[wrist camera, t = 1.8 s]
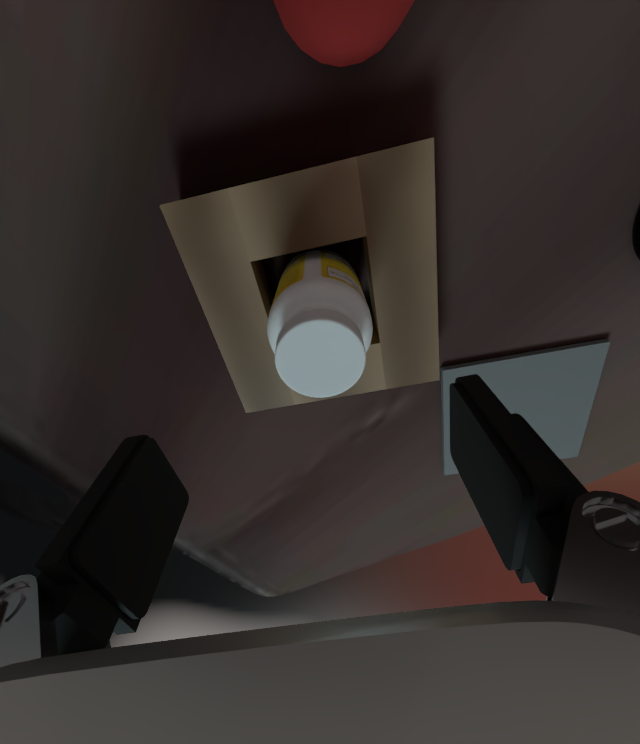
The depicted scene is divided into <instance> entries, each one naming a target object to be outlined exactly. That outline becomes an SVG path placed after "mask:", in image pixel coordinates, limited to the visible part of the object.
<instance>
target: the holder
mask: <svg viewBox="0 0 640 744" xmlns="http://www.w3.org/2000/svg"><path fill="white" fill-rule="evenodd" d="M160 208H161V210H162V213H163V215H164V217H165V220H166V222H167V225H168V227H169V229H170V232H171V234H172V237H173V239H174V241H175V244H176V246H177V249H178V251H179V253H180V256H181V258H182V261H183V263H184V265H185V268H186V270H187V272H188V275H189V277H190V280H191V282H192V284H193V287H194V289H195V292H196V294H197V296H198V299H199V301H200V304H201V306H202V308H203V311H204V313H205V316H206V318H207V320H208V323H209V325H210V328H211V330H212V332H213V335H214V337H215V339H216V342H217V344H218V347H219V349H220V351H221V354H222V356H223V359H224V361H225V363H226V366H227V368H228V371H229V373H230V375H231V378H232V380H233V383H234V385H235V387H236V390H237V392H238V395H239V397H240V399H241V402H242V404H243V407H244V409H245V411H246V413H249V412H255V411H261V410H267V409H273V408H278V407H284V406H290V405H296V404H302V403H308V402H314V401H320V400H325V399H331V398H337V397H343V396H349V395H355V394H361V393H366V392H372V391H378V390H384V389H390V388H396V387H402V386H408V385H413V384H419V383H425V382H431V381H437V380H439V338H438V293H437V249H436V205H435V161H434V137H433V138H429V139H425V140H421V141H417V142H413V143H409V144H405V145H401V146H397V147H393V148H388V149H384V150H380V151H376V152H372V153H368V154H364V155H360V156H356V157H352V158H348V159H344V160H340V161H336V162H332V163H328V164H324V165H320V166H316V167H312V168H308V169H304V170H300V171H296V172H292V173H288V174H284V175H280V176H276V177H272V178H267V179H263V180H259V181H255V182H251V183H247V184H243V185H239V186H235V187H231V188H227V189H223V190H219V191H215V192H211V193H207V194H203V195H199V196H195V197H191V198H187V199H183V200H179V201H175V202H171V203H167V204H163V205H160ZM361 237H362V242H363V249H364V257H365V264H366V272H367V279H368V286H369V294H370V301H371V309H372V316H373V325H372V326H373V332H372V339H371V343H370V346H369V348H368V350H367V352H366V363H365V367H364V370H363V373H362V375H361V377H360V378H359V379H358V381H357V382H356V383H355V384H354V385H353V386H352V387H351V388H349V389H348V390H346V391H344V392H343V393H341V394H338V395H335V396H331V397H324V398H316V397H309V396H305V395H302V394H300V393H298V392H296V391H294V390H293V389H291V388H290V387H288V386H287V385H286V384H285V383H284V382H283V380H282V379H281V377H280V376H279V374H278V372H277V369H276V365H275V354H274V352H273V350H272V348H271V346H270V343H269V339H268V334H267V323H268V317H269V313H270V309H271V306H272V303H273V298H272V295H271V291H270V288H269V284H268V281H267V278H266V274H265V271H264V267H263V264H262V261H261V259H266V258H270V257H275V256H279V255H284V254H288V253H293V252H298V251H302V250H307V249H311V248H316V247H320V246H325V245H329V244H334V243H338V242H343V241H347V240H352V239H356V238H361Z"/></svg>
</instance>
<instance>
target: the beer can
mask: <svg viewBox="0 0 640 744" xmlns="http://www.w3.org/2000/svg"><path fill="white" fill-rule="evenodd" d="M273 1H274V4H275V6H276V9H277V11H278V14H279V16H280V19H281V21H282V24H283V26H284V28H285V30H286V31H287V32H288V34H289V35H290V36H291V38H292V39H293V40H294V42H295V43H296V44H297V46H298V47H299V48H300V49H301V50H302V51H303V52H305V53H306V54H308V55H309V56H311V57H312V58H314V59H315V60H316V61H318V62H319V63H323V64H328V65H333V66H337V67H344V66H349V65H353V64H358V63H362V62H364V61H365V60H367V59H368V58H370V57H371V56H373V55H374V54H376V53H377V52H379V51H380V50H382V49H383V47H384V46H385V45H386V44H387V42H388V41H389V40H390V39H391V37H392V36H393V35H394V34H395V32H396V31H397V30H398V29H399V27H400V25H401V24H402V22H403V20H404V18H405V17H406V15H407V13H408V11H409V9H410V8H411V6H412V4H413V2H414V1H415V0H273Z"/></svg>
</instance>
